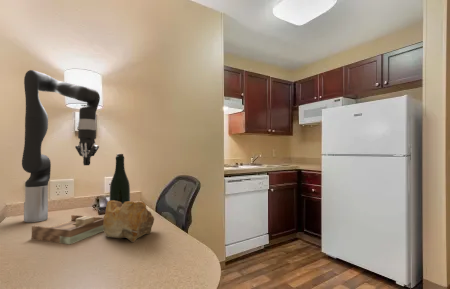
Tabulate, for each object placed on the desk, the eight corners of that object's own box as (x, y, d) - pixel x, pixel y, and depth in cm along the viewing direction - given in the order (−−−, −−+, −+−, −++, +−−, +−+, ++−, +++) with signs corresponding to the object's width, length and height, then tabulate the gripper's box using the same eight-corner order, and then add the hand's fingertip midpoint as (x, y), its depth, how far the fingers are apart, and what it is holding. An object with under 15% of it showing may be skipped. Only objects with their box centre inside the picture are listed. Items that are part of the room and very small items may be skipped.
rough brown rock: (168, 238, 95) (169, 199, 97) (129, 247, 82) (132, 203, 84) (135, 229, 110) (137, 195, 112) (98, 236, 97) (100, 198, 99)
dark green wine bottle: (133, 214, 131) (133, 153, 132) (114, 218, 123) (114, 153, 124) (124, 211, 137) (124, 153, 139) (105, 215, 130) (106, 154, 131)
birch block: (75, 230, 96) (75, 218, 97) (85, 226, 101) (85, 216, 101) (84, 231, 95) (84, 219, 95) (93, 227, 99) (93, 216, 99)
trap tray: (31, 239, 94) (31, 226, 94) (73, 225, 111) (73, 214, 111) (69, 244, 88) (70, 230, 88) (107, 229, 105) (107, 217, 105)
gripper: (70, 129, 114) (69, 165, 114) (91, 128, 110) (90, 165, 109) (84, 130, 121) (83, 164, 121) (104, 129, 117) (103, 165, 116)
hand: (86, 165), depth 115 cm, fingers closed
